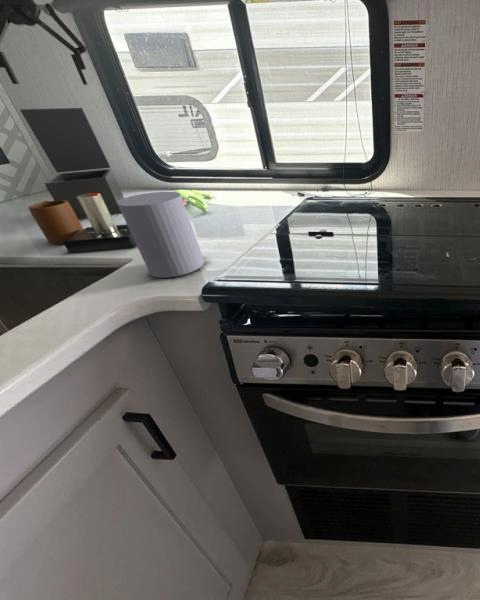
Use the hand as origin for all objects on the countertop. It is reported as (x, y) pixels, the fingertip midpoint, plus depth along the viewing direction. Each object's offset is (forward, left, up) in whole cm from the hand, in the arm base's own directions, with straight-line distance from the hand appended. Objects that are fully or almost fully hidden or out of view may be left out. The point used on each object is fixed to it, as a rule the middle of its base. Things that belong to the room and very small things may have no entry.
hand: (52, 84), depth 86 cm
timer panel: (+11, -26, -35) cm, 45 cm away
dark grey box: (-9, +8, -35) cm, 37 cm away
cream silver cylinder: (+11, -26, -32) cm, 43 cm away
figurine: (+18, +3, -35) cm, 40 cm away
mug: (-3, -19, -35) cm, 40 cm away
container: (+33, -46, -35) cm, 67 cm away
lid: (-11, +14, -15) cm, 23 cm away
